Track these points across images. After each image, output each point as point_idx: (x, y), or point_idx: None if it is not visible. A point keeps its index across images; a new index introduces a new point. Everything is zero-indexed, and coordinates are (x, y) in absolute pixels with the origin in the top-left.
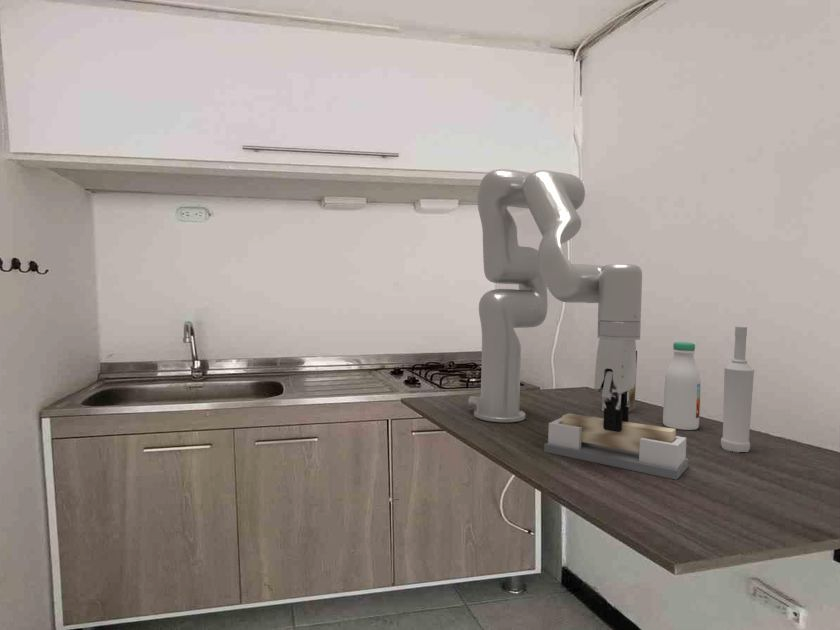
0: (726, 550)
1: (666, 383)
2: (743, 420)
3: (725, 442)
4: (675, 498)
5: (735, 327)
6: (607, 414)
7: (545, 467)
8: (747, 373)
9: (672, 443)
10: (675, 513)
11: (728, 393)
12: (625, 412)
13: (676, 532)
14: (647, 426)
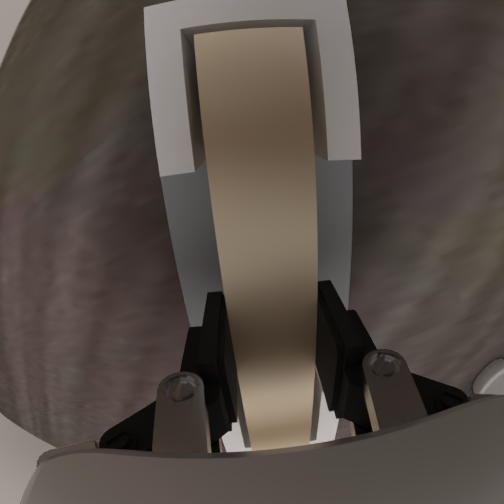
0: (48, 440)
1: None
2: None
3: (487, 380)
4: (118, 410)
5: None
6: (183, 365)
7: (29, 152)
8: None
9: (241, 449)
10: (70, 412)
11: None
12: (325, 391)
13: (32, 412)
14: (282, 427)
